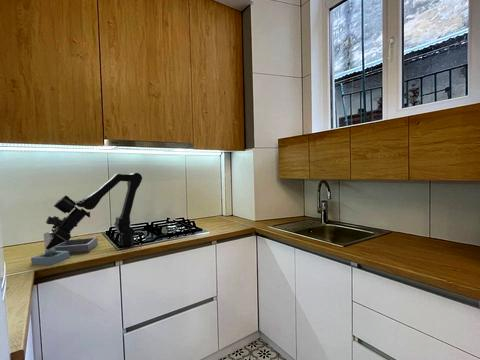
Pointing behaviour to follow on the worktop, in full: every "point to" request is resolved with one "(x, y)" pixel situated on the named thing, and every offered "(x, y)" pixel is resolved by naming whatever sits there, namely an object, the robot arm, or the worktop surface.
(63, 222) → the robot arm
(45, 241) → the stop pin
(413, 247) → the worktop surface
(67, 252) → the socket block
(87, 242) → the tray
